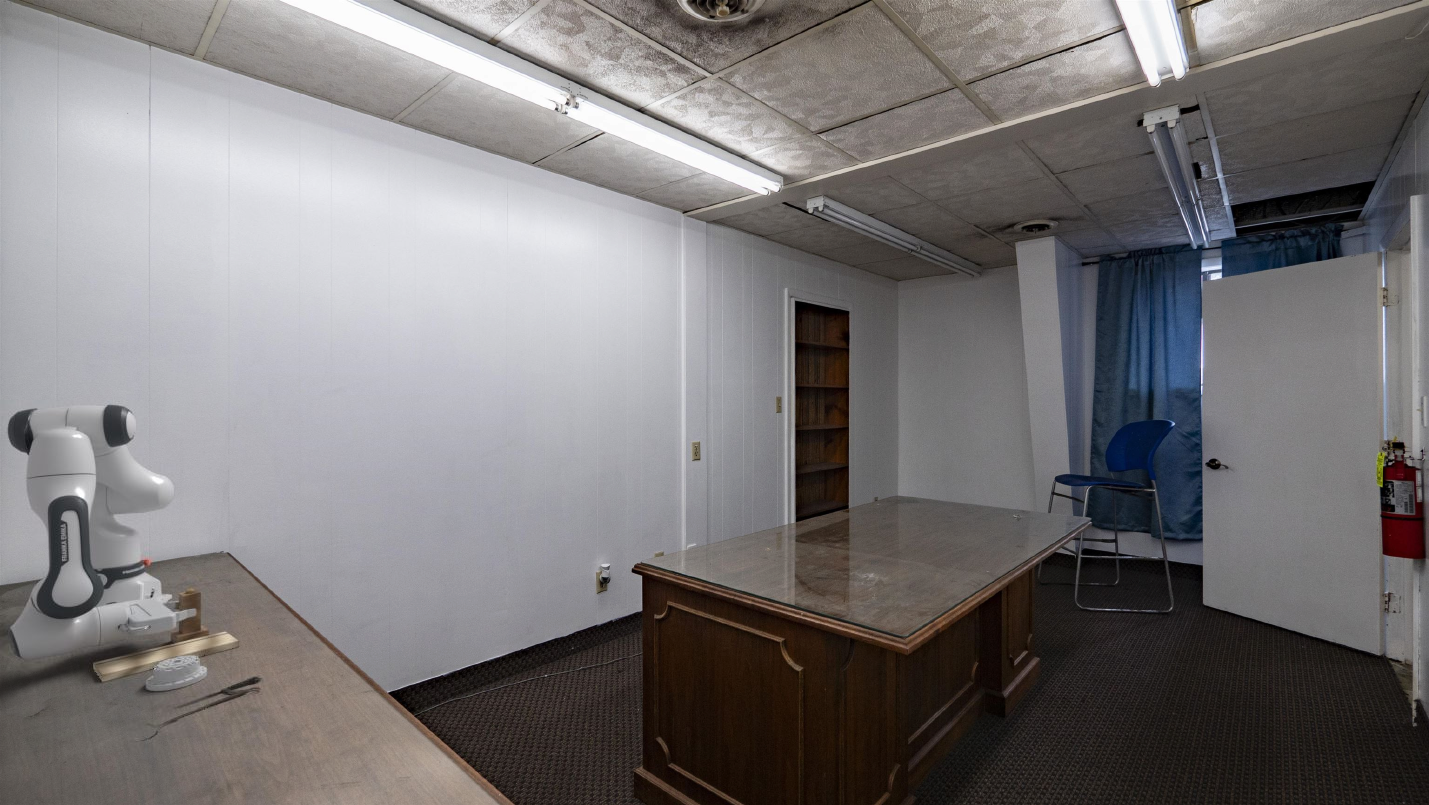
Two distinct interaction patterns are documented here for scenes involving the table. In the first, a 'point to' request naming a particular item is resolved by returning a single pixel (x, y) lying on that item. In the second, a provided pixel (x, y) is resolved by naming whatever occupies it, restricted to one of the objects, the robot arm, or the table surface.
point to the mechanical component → (176, 673)
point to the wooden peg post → (189, 618)
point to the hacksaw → (226, 690)
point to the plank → (163, 655)
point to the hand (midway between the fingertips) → (189, 607)
